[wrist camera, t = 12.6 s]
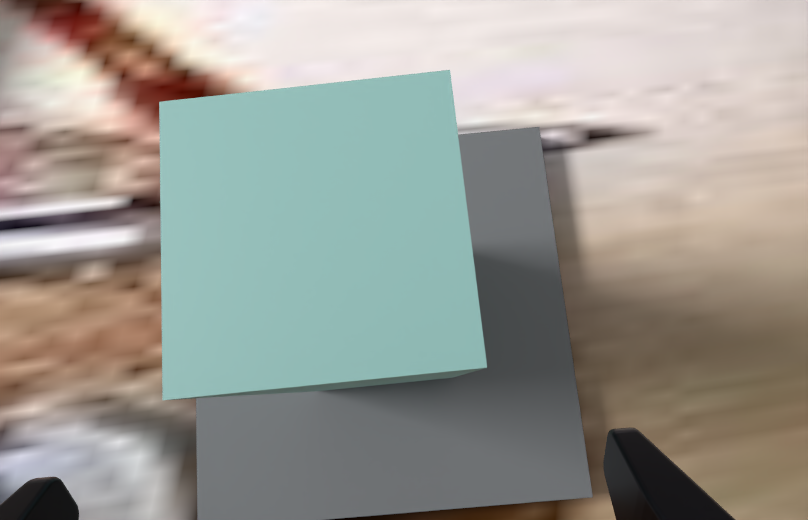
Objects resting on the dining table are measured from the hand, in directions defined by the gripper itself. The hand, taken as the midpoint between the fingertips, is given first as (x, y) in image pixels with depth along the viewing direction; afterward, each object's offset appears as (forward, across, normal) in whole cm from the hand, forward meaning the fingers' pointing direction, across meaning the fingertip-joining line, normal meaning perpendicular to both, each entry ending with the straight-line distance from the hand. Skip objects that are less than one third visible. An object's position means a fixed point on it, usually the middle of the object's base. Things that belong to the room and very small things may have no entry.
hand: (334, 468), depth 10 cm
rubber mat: (+12, 0, +6) cm, 14 cm away
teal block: (+11, 0, +6) cm, 13 cm away
